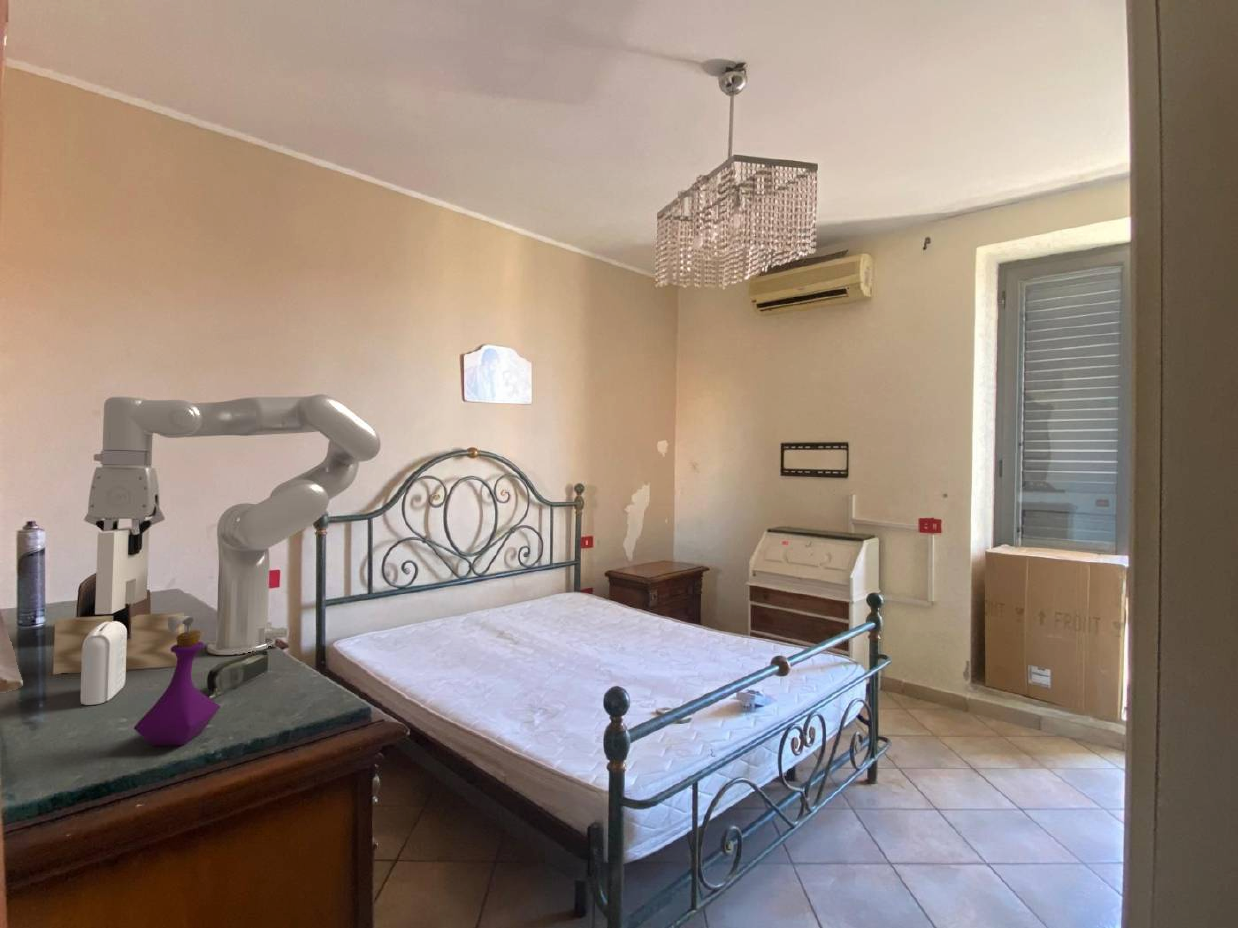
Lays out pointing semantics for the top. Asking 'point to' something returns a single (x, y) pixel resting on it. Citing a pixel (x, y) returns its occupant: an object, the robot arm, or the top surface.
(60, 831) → the top surface
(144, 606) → the letter holder
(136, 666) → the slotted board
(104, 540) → the cream angled block
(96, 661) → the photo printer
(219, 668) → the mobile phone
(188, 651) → the perfume bottle
